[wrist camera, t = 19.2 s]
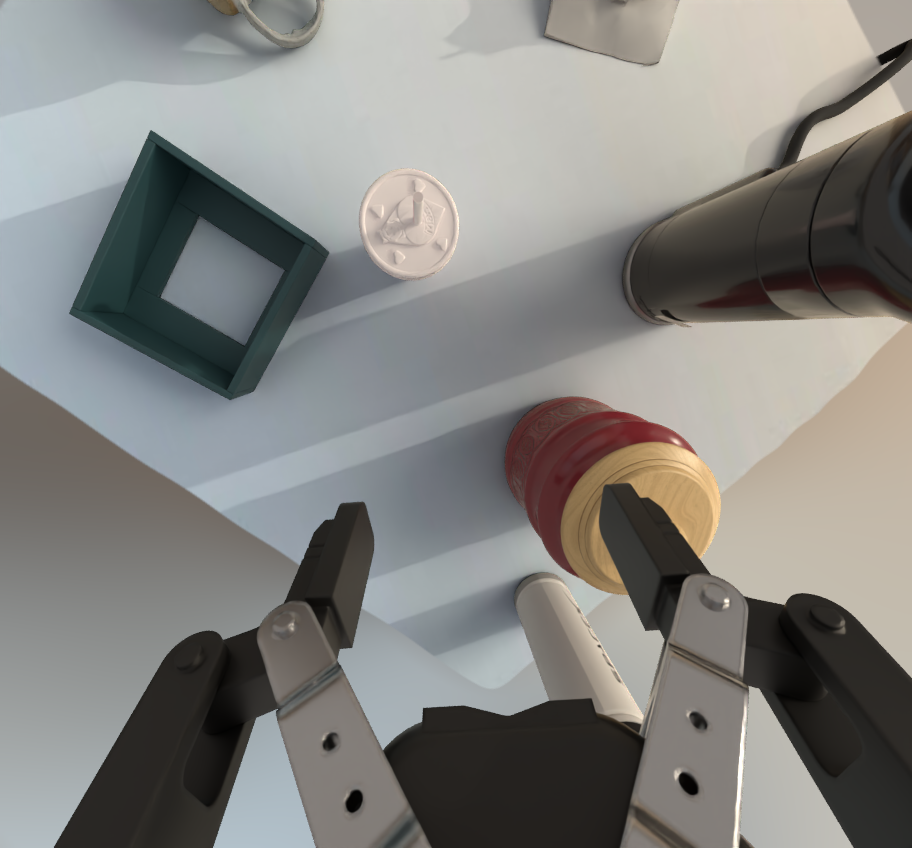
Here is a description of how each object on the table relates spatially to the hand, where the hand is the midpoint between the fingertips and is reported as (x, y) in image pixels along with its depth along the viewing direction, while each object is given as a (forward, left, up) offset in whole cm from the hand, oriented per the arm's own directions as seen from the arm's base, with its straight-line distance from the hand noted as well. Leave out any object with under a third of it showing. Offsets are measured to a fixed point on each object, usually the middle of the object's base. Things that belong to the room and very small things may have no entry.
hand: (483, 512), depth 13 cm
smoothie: (-9, -9, -24) cm, 28 cm away
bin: (+2, -21, -24) cm, 32 cm away
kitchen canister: (-1, +14, -24) cm, 28 cm away
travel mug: (+14, +22, -24) cm, 36 cm away
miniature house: (-35, -6, -24) cm, 43 cm away
